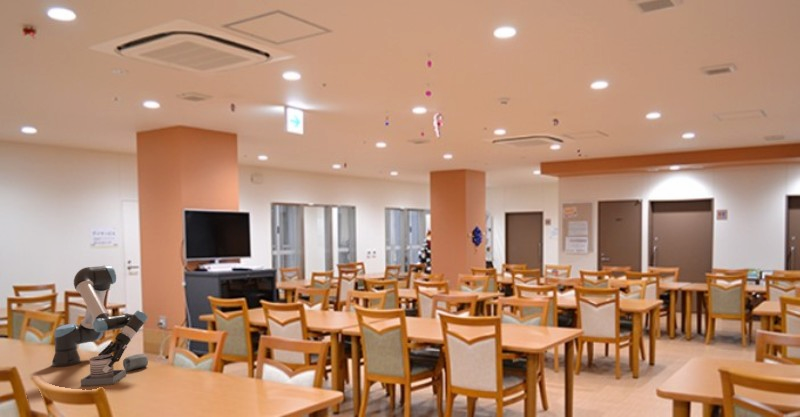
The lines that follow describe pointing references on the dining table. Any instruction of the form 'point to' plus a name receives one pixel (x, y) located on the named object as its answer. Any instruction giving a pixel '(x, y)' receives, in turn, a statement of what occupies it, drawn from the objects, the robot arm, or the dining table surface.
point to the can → (100, 366)
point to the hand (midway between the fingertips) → (98, 370)
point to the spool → (135, 362)
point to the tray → (103, 379)
